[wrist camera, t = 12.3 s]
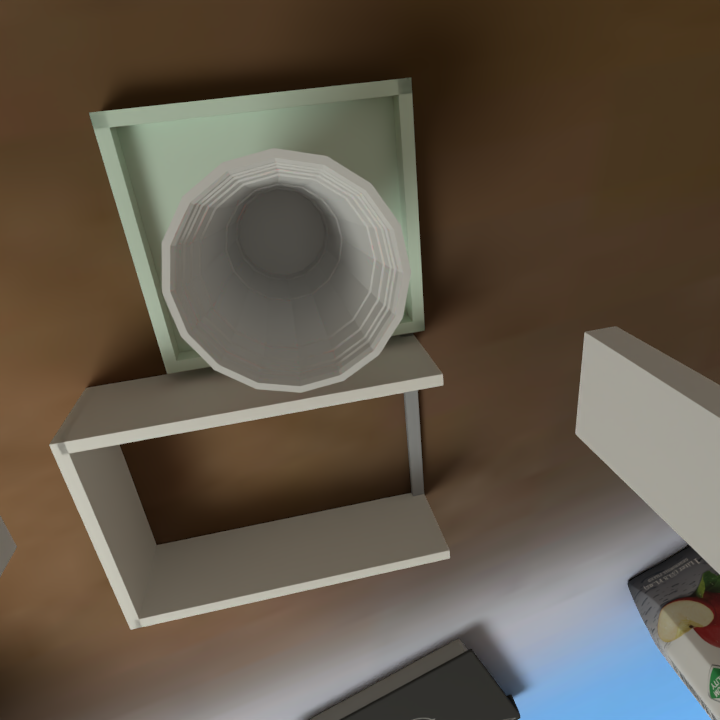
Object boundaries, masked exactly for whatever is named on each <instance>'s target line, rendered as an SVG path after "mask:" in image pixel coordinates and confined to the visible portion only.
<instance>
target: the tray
mask: <svg viewBox="0 0 720 720" xmlns="http://www.w3.org/2000/svg"><path fill="white" fill-rule="evenodd" d="M89 115H90V118H91V121H92V125H93V128H94V131H95V135H96V138H97V141H98V145H99V148H100V151H101V155H102V158H103V161H104V165H105V168H106V171H107V175H108V178H109V181H110V185H111V188H112V191H113V195H114V198H115V201H116V205H117V208H118V211H119V215H120V218H121V222H122V225H123V228H124V232H125V235H126V238H127V242H128V245H129V248H130V252H131V255H132V258H133V262H134V265H135V268H136V272H137V275H138V278H139V282H140V285H141V288H142V292H143V295H144V298H145V302H146V305H147V308H148V312H149V315H150V318H151V322H152V325H153V328H154V332H155V335H156V338H157V342H158V345H159V348H160V352H161V355H162V359H163V362H164V365H165V369H166V372H167V374H170V373H176V372H182V371H188V370H194V369H200V368H206V367H211V366H210V365H209V364H208V363H207V362H206V361H205V360H204V359H203V358H202V357H201V356H200V355H199V354H198V353H197V352H196V351H195V350H194V349H193V348H192V347H191V346H190V345H189V344H188V343H187V342H186V341H185V340H184V339H183V338H182V337H181V335H180V333H179V331H178V329H177V326H176V324H175V322H174V319H173V317H172V315H171V312H170V310H169V308H168V305H167V303H166V301H165V298H164V296H163V294H162V241H163V239H164V236H165V234H166V232H167V230H168V228H169V225H170V223H171V221H172V219H173V216H174V214H175V212H176V210H177V208H178V205H179V203H180V201H181V199H182V197H183V196H184V195H185V194H186V193H187V192H188V191H190V190H191V189H192V188H193V187H194V186H195V185H197V184H198V183H199V182H200V181H201V180H202V179H204V178H205V177H206V176H207V175H208V174H209V173H211V172H212V171H213V170H214V169H215V168H216V167H217V166H219V165H220V164H221V163H222V162H226V161H229V160H233V159H236V158H240V157H244V156H247V155H251V154H254V153H258V152H261V151H265V150H268V149H272V148H277V149H283V150H290V151H297V152H304V153H310V154H317V155H324V156H328V157H329V158H331V159H333V160H334V161H336V162H337V163H339V164H341V165H342V166H344V167H345V168H347V169H349V170H350V171H352V172H353V173H355V174H357V175H358V176H360V177H361V178H363V179H365V180H366V181H368V182H370V183H371V184H372V185H373V186H374V188H375V189H376V191H377V192H378V193H379V195H380V196H381V198H382V199H383V201H384V202H385V203H386V205H387V206H388V208H389V209H390V211H391V212H392V213H393V215H394V216H395V218H396V219H397V220H398V222H399V223H400V225H401V228H402V233H403V237H404V242H405V246H406V251H407V256H408V260H409V265H410V269H411V276H410V281H409V287H408V293H407V298H406V304H405V309H404V315H403V318H402V320H401V321H400V323H399V324H398V326H397V328H396V329H395V331H394V332H393V334H392V336H395V335H401V334H407V333H413V332H419V331H425V324H424V306H423V287H422V268H421V250H420V231H419V212H418V194H417V175H416V156H415V137H414V119H413V100H412V81H411V78H403V79H394V80H384V81H375V82H366V83H357V84H348V85H339V86H329V87H320V88H311V89H302V90H293V91H284V92H274V93H265V94H256V95H247V96H238V97H229V98H219V99H210V100H201V101H192V102H183V103H174V104H164V105H155V106H146V107H137V108H128V109H119V110H109V111H100V112H91V113H89Z"/></svg>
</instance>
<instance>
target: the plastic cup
mask: <svg viewBox="0 0 720 720" xmlns="http://www.w3.org/2000/svg"><path fill="white" fill-rule="evenodd" d="M410 276H411V269H410V265H409V260H408V256H407V251H406V246H405V242H404V237H403V233H402V228H401V225H400V223H399V222H398V220H397V219H396V218H395V216H394V215H393V213H392V212H391V211H390V209H389V208H388V206H387V205H386V203H385V202H384V201H383V199H382V198H381V196H380V195H379V193H378V192H377V191H376V189H375V188H374V186H373V185H372V184H371V183H370V182H368V181H366V180H365V179H363V178H361V177H360V176H358V175H357V174H355V173H353V172H352V171H350V170H349V169H347V168H345V167H344V166H342V165H341V164H339V163H337V162H336V161H334V160H333V159H331V158H329V157H328V156H324V155H317V154H310V153H304V152H297V151H290V150H283V149H277V148H272V149H268V150H265V151H261V152H258V153H254V154H251V155H247V156H244V157H240V158H236V159H233V160H229V161H226V162H222V163H221V164H220V165H219V166H217V167H216V168H215V169H214V170H213V171H212V172H211V173H209V174H208V175H207V176H206V177H205V178H204V179H202V180H201V181H200V182H199V183H198V184H197V185H195V186H194V187H193V188H192V189H191V190H190V191H188V192H187V193H186V194H185V195H184V196H183V197H182V199H181V201H180V203H179V205H178V208H177V210H176V212H175V214H174V216H173V219H172V221H171V223H170V225H169V228H168V230H167V232H166V234H165V236H164V239H163V241H162V294H163V296H164V298H165V301H166V303H167V305H168V308H169V310H170V312H171V315H172V317H173V319H174V322H175V324H176V326H177V329H178V331H179V333H180V335H181V337H182V338H183V339H184V340H185V341H186V342H187V343H188V344H189V345H190V346H191V347H192V348H193V349H194V350H195V351H196V352H197V353H198V354H199V355H200V356H201V357H202V358H203V359H204V360H205V361H206V362H207V363H208V364H209V365H210V366H211V367H212V368H213V369H214V370H215V371H218V372H220V373H222V374H224V375H226V376H229V377H231V378H233V379H235V380H237V381H240V382H242V383H244V384H246V385H248V386H250V387H253V388H255V389H261V390H273V391H286V392H298V393H302V392H306V391H309V390H313V389H316V388H320V387H323V386H327V385H331V384H334V383H338V382H341V381H344V380H346V379H347V378H348V377H350V376H351V375H352V374H354V373H355V372H357V371H358V370H359V369H361V368H362V367H363V366H365V365H366V364H367V363H369V362H370V361H372V360H373V359H374V358H376V357H377V356H378V355H379V354H380V353H381V351H382V350H383V348H384V347H385V345H386V343H387V342H388V340H389V339H390V337H391V336H392V334H393V332H394V331H395V329H396V328H397V326H398V324H399V323H400V321H401V320H402V318H403V315H404V309H405V304H406V298H407V293H408V287H409V281H410Z"/></svg>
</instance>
